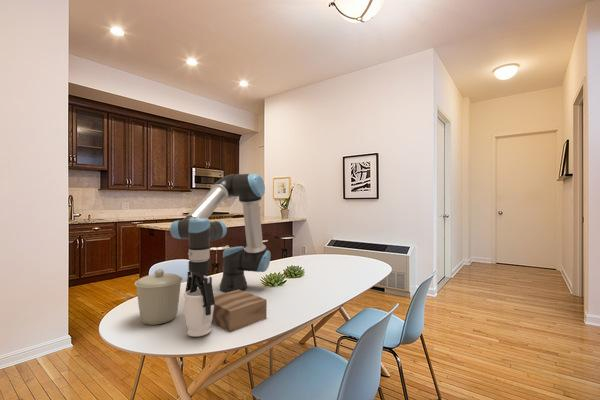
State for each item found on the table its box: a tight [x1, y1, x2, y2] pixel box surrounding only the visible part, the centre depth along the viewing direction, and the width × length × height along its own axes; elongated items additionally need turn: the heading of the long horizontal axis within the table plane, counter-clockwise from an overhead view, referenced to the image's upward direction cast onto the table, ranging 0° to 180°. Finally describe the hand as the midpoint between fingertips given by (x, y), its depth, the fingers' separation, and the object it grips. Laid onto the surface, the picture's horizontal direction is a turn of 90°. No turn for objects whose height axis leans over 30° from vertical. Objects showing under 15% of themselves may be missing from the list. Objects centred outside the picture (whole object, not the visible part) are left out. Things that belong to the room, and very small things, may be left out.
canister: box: [134, 268, 184, 326], centre depth 123 cm, size 18×18×21 cm
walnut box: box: [211, 290, 268, 333], centre depth 125 cm, size 20×18×8 cm
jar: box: [183, 288, 215, 338], centre depth 110 cm, size 11×10×15 cm
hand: (199, 318), depth 110 cm, fingers closed on jar, 10 cm apart
